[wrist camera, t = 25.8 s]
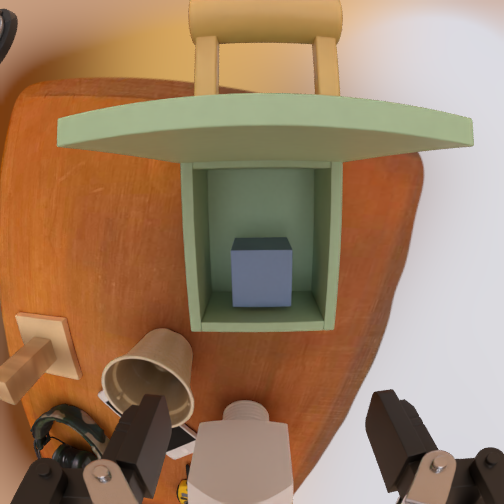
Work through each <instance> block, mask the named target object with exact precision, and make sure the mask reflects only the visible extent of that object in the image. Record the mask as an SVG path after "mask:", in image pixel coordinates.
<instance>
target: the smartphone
mask: <svg viewBox="0 0 504 504" xmlns="http://www.w3.org/2000/svg"><path fill="white" fill-rule="evenodd" d="M98 397H99V398H100V399H101V400H102V401H103V402H104V403H105V404H106V405H107V406H109V407H110V408H111V409H112V410H113V411H114V412H115V413H116V414H117V415H118V416H120V417H121V416H122V414H121V413H120V412H119V411H118V410H116V408H115V407H114V406H113V405H112V404H111V403H110V402H109V400H108V399H107V397H106V395H105V393H104V390H101V391H100V392H99V393H98ZM196 438H197V434H196V433H195V432H194V431H193V430H191V429H190V428H189V427H188V426H186V425H185V424H182V425H180V426H178V427H174V428H172V433H171V438H170V441H169V445H168V448H167V452H166V454H167V455H168V456H169V457H171V458H172V459H178V458H180V457H183V456H186V455H188V454H191V453H193V452H194V447H195V442H196Z"/></svg>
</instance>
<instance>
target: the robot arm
mask: <svg viewBox="0 0 504 504" xmlns="http://www.w3.org/2000/svg"><path fill="white" fill-rule="evenodd" d="M4 28H5V20H4V18H3V11H1V10H0V40H1V38H2V35H3V32H4ZM365 427H366V432H367V436H368V438H369V441H370V444H371V446H372V449H373V452H374V455H375V457H376V460H377V463H378V466H379V468H380V471H381V474H382V477H383V480H384V482H385V485H386V488H387V491H388V493H390V492H394V491H398V492H399V495H400V496H399V498H398V500H397V502H396V504H504V454H503V452H502V451H500V450H498V449H496V448H484V449H482V450H481V451H480V452H479V453H478V454H477V455H476V457H475V458H468V459H454V457H453V456H452V455H451V454H450V453H448V452H446V451H442V450H438V448H437V446H436V445H435V443H434V441H433V439H432V437H431V436H430V434H429V432H428V430H427V428H426V427H425V425H424V424H423V422H422V420H421V418H420V417H419V415H418V413H417V411H416V409H415V408H414V406H412V405H411V404H410V403H408V402H407V401H406V400H405V399H404V400H399V399H398V397H397V395H396V393H395V392H394V390H391V389H390V390H384V391H377V392H374V393H373V395H372V398H371V402H370V406H369V410H368V413H367V417H366V422H365ZM171 433H172V424H171V419H170V415H169V410H168V406H167V402H166V398H165V396H164V395H154V394H145V395H144V396H143V398H142V401H141V403H140V405H133V404H132V405H131V406H130V407H129V408H128V409H127V410H125V411H124V412H123V414H122V416H121V418H120V420H119V423H118V424H117V426H116V428H115V431H114V432H113V434H112V436H111V439H110V441H109V443H108V445H107V447H106V449H105V451H104V453H103V455H102V457H101V459H98V460H95V461H92V462H90V463H89V464H88V465H87V466H86V467H85V468H81V469H76V468H62V467H61V466H60V464H59V463H58V462H57V461H55V460H54V459H51V458H41V459H38V460H36V461H35V462H33V463H32V464H31V466H30V467H29V469H28V471H27V473H26V475H25V476H24V478H23V480H22V482H21V484H20V486H19V488H18V490H17V492H16V493H15V495H14V497H13V500H12V502H11V503H10V504H142V501H143V498H144V497H145V498H151V499H153V497H154V494H155V490H156V486H157V483H158V479H159V476H160V472H161V469H162V465H163V462H164V458H165V455H166V452H167V448H168V445H169V441H170V438H171Z"/></svg>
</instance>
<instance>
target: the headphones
mask: <svg viewBox="0 0 504 504" xmlns="http://www.w3.org/2000/svg"><path fill="white" fill-rule="evenodd" d="M54 420H56V421H57V422H60V423H64V424H66V425H68V426H69V427H71V428H72V429H74V430H75V431H76V432H78V433H79V434H80V435H81V436H82V437H83V438H84V439H85V440H86V441H87V442H88V443H89V444H90V446H91V450H92V451H93V452H94V453H95V454H96V456H97V458H96V457H95V455H93V454H92V453H91V452H88V451H81V450H78V449H75V448H74V447H73V446H71V445H68V444H65V443H64V442H62V441H61V440H59V439H57V438H55V437H50V435H49V431H50V429H51V426H52V424H53V421H54ZM30 431H31V432H32V435H33V437H34V438H35V440H34V449H35V452H36V455H37V457H38V459H41V455H40V451H39V450H42V449H43V447H44V446H45V445H46V444H47V443H48V442H49V441H50V440H51V439H50V438H54V439H56V440H59V441H60V442H62V443H63V444H62V445H60V446H59V447H58V448H57V450H56V451H55V452H54V454H53V456H52V459H54V460H55V461H57V462H58V463H59V464H60V466H61V467H62V468H76V469H81V468H85V467H86V466H87V465H88V464H89V463H90V462H92V461H95V460H98V459H101V457H102V455H103V453H104V451H105V449H106V447H107V445H108V443H109V441H110V439H109V438H108V437H107V436H106V435H105V434H104V430H102V429H101V428H100V427H99V426H98V425H97V424H96V422H95V421H94V420H93V419H92V418H91V417H90V416H89V415H88V414H87V413H86V412H84V411H83V410H81V409H79V408H77V407H75V406H68V405H67V404H61V405H58V406H55V407H53V408H51V409H50V410H49V411H48V412H46V413H44V414H42V415H41V416H40V417H39V418H38V419H37V420H36V421H35V423H34V424H33V426H32V429H31V430H30ZM46 435H47V437H46ZM46 442H47V443H46ZM36 445H37V448H38V449H37V448H36ZM43 445H44V446H43Z"/></svg>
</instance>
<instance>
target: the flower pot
mask: <svg viewBox="0 0 504 504" xmlns="http://www.w3.org/2000/svg"><path fill="white" fill-rule="evenodd" d="M192 360H193V352H192V348H191V346H190V344H189V342H188V341H187V340H186V339H185V338H184V337H183V336H182V335H181V334H178V333H175V332H173V331H171V330H169V329H164V328H161V329H155V330H152V331H150V332H149V333H147V334H146V335H145V337H144V338H143V339H142V340H141V341H139V342H138V343H137V344H136V345H135V346H134V347H133V348H132V349H131V350H130V351H129V352H128V353H127V354H124V355H122V356H120V357H117V358H115V359H113V360H112V361H111V362H109V363H108V364H107V366H106V367H105V369H104V371H103V374H102V387H103V390H104V393H105V395H106V397H107V399H108V400H109V402H110V403H111V404H112V405H113V406H114V407H115V408H116V410H118V411H119V412H120V413H121V414H123V412H124V411H125V410H127V409H128V408H129V407H130V406H131V405H132V404H133V405H140V403H141V401H142V398H143V396H144V395H145V394H154V395H164V396H165V398H166V402H167V406H168V410H169V415H170V419H171V424H172V428H174V427H178V426H180V425H182V424H184V423H185V422H186V421H187V420H188V419H189V418H190V417H191V415H192V413H193V410H194V397H193V394H192V391H191V387H190V379H191V368H192Z"/></svg>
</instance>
